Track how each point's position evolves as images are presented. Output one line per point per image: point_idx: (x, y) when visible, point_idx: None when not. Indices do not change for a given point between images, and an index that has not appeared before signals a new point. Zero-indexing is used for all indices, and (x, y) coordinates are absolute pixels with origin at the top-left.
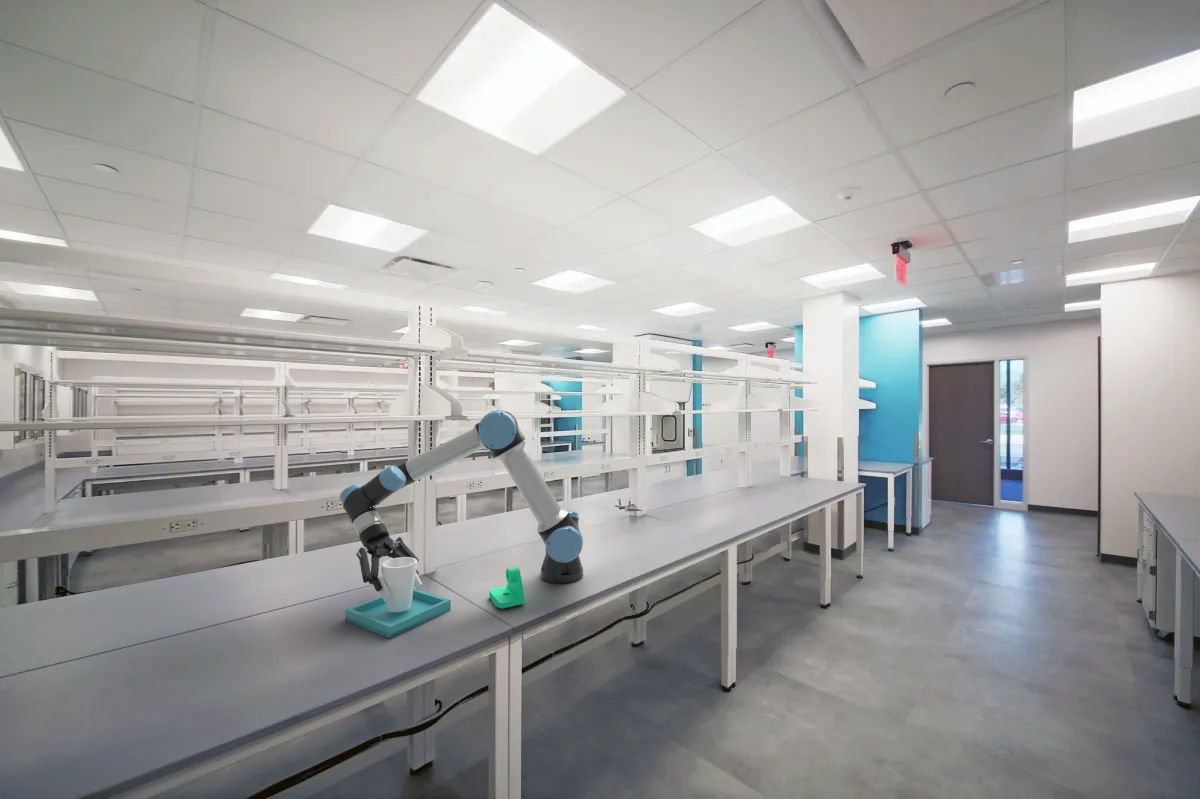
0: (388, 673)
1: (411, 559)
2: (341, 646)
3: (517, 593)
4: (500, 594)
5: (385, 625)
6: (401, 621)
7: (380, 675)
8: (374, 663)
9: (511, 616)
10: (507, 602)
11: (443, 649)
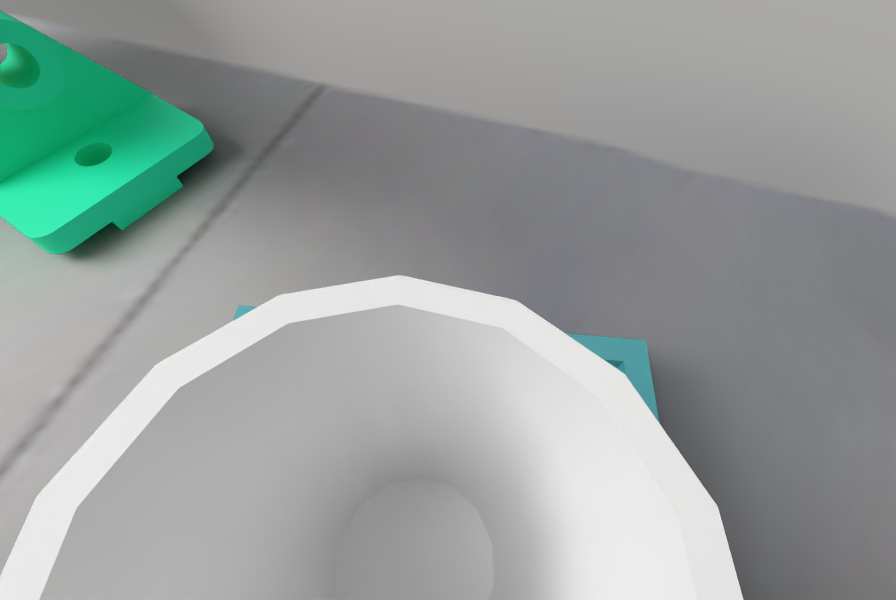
0: (741, 193)
1: (69, 569)
2: (830, 523)
3: (113, 96)
4: (103, 169)
5: (651, 378)
6: (572, 338)
7: (764, 204)
8: (754, 268)
9: (253, 113)
10: (188, 116)
11: (546, 155)
